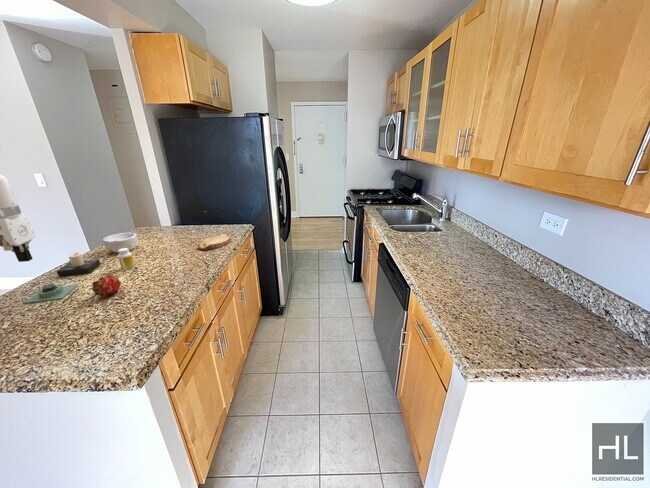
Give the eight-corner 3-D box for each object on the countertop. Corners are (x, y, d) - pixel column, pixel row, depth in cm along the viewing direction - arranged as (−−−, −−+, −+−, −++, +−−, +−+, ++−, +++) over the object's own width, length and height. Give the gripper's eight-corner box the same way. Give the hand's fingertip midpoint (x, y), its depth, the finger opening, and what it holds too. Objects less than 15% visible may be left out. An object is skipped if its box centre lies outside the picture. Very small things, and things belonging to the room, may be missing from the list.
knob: (81, 266, 122) (77, 255, 120) (70, 267, 120) (66, 257, 118) (86, 262, 125) (82, 252, 123) (75, 263, 124) (71, 253, 122)
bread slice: (230, 237, 166) (229, 231, 165) (231, 247, 151) (231, 241, 149) (199, 240, 160) (198, 235, 159) (198, 251, 144) (196, 245, 143)
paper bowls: (146, 244, 154) (142, 232, 151) (125, 255, 140) (121, 241, 137) (122, 244, 155) (118, 231, 152) (99, 254, 141) (94, 240, 138)
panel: (58, 277, 118) (56, 270, 117) (72, 267, 127) (69, 261, 126) (90, 273, 121) (87, 267, 120) (100, 264, 130) (98, 258, 129)
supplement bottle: (137, 265, 129) (132, 247, 126) (131, 270, 124) (125, 251, 121) (126, 265, 129) (120, 247, 125) (119, 270, 124) (113, 251, 120)
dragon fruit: (98, 306, 100) (118, 293, 111) (115, 292, 99) (133, 281, 111) (79, 290, 98) (102, 279, 109) (96, 276, 97) (117, 266, 109)
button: (41, 293, 99) (39, 289, 98) (47, 288, 102) (45, 284, 102) (52, 291, 100) (50, 287, 99) (58, 287, 103) (57, 283, 102)
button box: (25, 307, 96) (20, 298, 95) (44, 293, 105) (39, 285, 104) (64, 302, 99) (60, 293, 98) (79, 289, 108) (75, 280, 107)
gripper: (-1, 217, 83) (23, 268, 90) (33, 206, 96) (52, 251, 103) (-32, 218, 81) (-5, 270, 88) (8, 207, 94) (28, 253, 101)
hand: (25, 260), depth 95 cm, fingers closed
